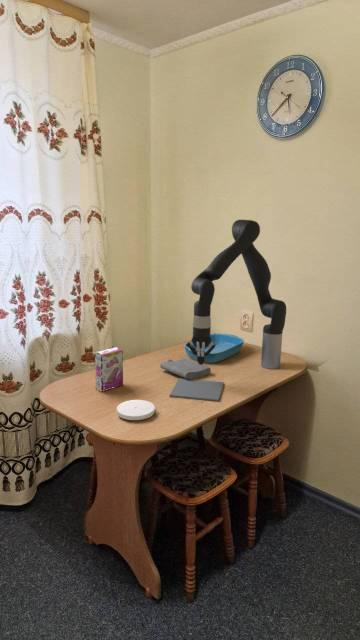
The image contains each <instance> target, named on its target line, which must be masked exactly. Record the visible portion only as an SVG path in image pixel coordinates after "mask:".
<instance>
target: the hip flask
mask: <svg viewBox="0 0 360 640" xmlns="http://www.w3.org/2000/svg"><path fill="white" fill-rule="evenodd" d="M159 368H160V369H162V370H165V371H168V372H170V373H172V374H175V375H177V376H179V377H180V378H184V379H195V380H197V379H199V378H200V379H201V378H202V377H205V376H207V375H209V374H210V373H211V371H212V370H211V368H210V366H206V365H204V364H202V365H200V364H199V363H198V362H195V361H193V360H190V359H188V358H185V357H182V358H180V359H177V360H172V359H168V360H167V361H162V362H161V363H160V366H159Z"/></svg>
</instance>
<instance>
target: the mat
mask: <svg viewBox="0 0 360 640" xmlns="http://www.w3.org/2000/svg"><path fill="white" fill-rule="evenodd" d="M224 383H225V382H224V381H216V380H205V379H186V378H184V377H179V378H178V379H177V381H176V382H175V385H174V386H173V388H172V390H171V391H170V393H169V398H176V399H177V398H179V399H185V400H186V399H187V400H198V401H209V402H218V403H219V401H220V398H221V396H222V395H221V394H222V392H223V387H224Z"/></svg>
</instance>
